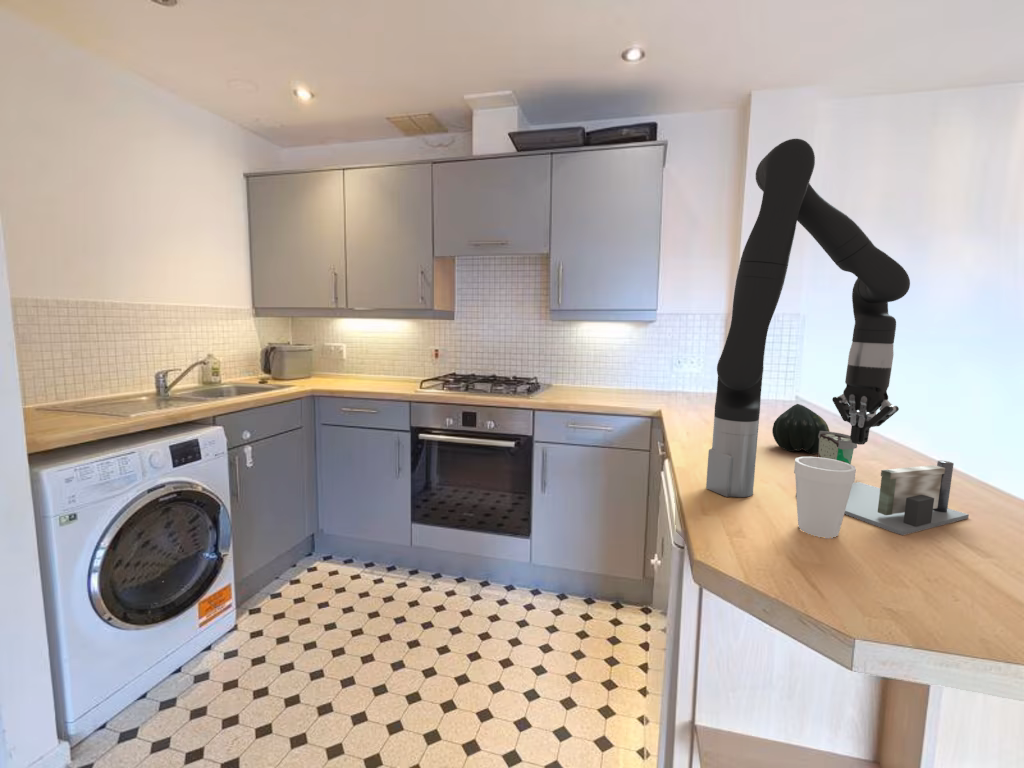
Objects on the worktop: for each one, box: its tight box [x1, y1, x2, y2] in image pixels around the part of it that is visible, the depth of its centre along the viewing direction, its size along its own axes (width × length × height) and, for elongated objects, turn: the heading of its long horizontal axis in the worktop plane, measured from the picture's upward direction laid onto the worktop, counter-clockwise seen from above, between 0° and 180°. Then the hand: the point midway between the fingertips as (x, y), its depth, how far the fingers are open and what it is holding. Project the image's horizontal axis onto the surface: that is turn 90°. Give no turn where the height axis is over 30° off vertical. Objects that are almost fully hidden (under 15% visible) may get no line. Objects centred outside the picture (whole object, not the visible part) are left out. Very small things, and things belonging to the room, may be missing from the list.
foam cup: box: [793, 456, 857, 539], centre depth 87 cm, size 10×9×13 cm
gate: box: [878, 464, 945, 515], centre depth 94 cm, size 14×2×9 cm, turn 106°
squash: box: [771, 403, 831, 455], centre depth 146 cm, size 14×15×15 cm
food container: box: [817, 431, 858, 465], centre depth 123 cm, size 12×6×10 cm, turn 168°
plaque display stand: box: [844, 460, 970, 536], centre depth 100 cm, size 22×21×11 cm
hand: (858, 443), depth 102 cm, fingers closed
